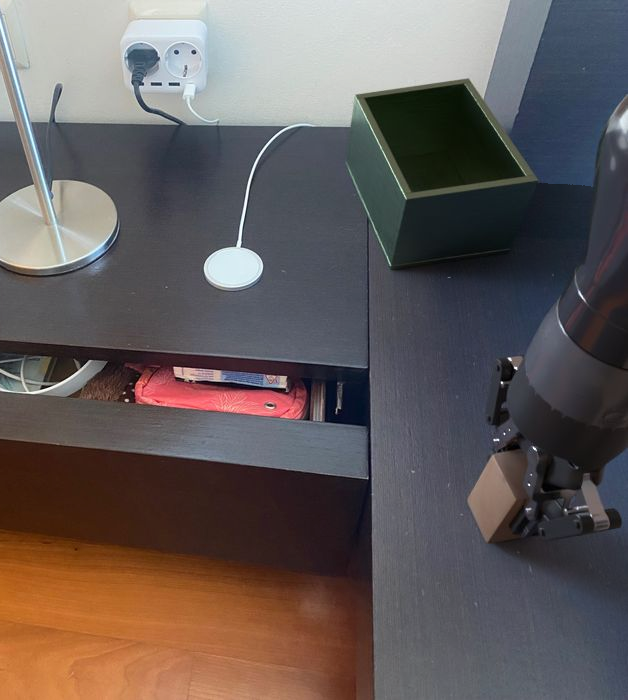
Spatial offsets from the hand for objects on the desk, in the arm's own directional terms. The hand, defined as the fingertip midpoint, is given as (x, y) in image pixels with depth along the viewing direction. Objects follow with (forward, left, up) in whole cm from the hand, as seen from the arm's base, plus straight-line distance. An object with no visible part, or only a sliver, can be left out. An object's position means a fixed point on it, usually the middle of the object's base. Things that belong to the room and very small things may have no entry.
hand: (510, 499), depth 55 cm
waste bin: (+22, -30, -3) cm, 38 cm away
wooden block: (0, 0, -3) cm, 3 cm away
